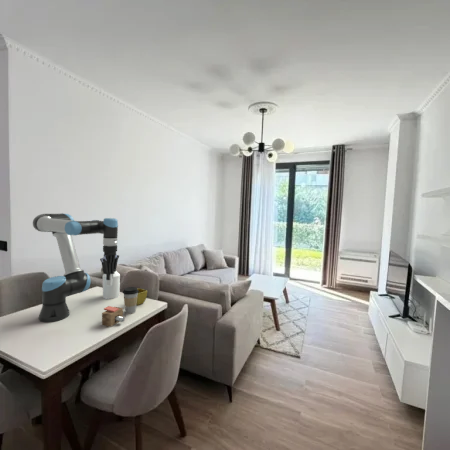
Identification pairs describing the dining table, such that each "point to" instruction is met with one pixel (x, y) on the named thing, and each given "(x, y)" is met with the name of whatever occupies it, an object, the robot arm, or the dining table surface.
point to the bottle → (111, 287)
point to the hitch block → (111, 317)
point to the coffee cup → (130, 299)
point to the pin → (119, 318)
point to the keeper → (111, 309)
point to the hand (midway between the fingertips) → (109, 284)
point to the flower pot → (141, 296)
